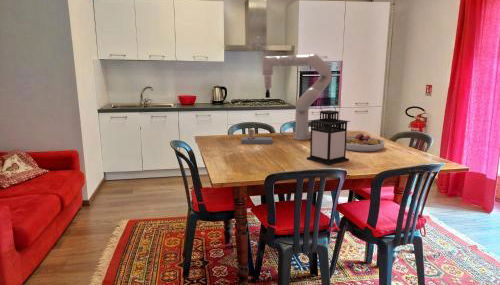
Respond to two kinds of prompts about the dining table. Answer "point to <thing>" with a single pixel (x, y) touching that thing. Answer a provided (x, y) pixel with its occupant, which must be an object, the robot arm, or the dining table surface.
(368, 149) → the bowl
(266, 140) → the board
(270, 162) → the dining table surface
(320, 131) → the lantern
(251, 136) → the peg
